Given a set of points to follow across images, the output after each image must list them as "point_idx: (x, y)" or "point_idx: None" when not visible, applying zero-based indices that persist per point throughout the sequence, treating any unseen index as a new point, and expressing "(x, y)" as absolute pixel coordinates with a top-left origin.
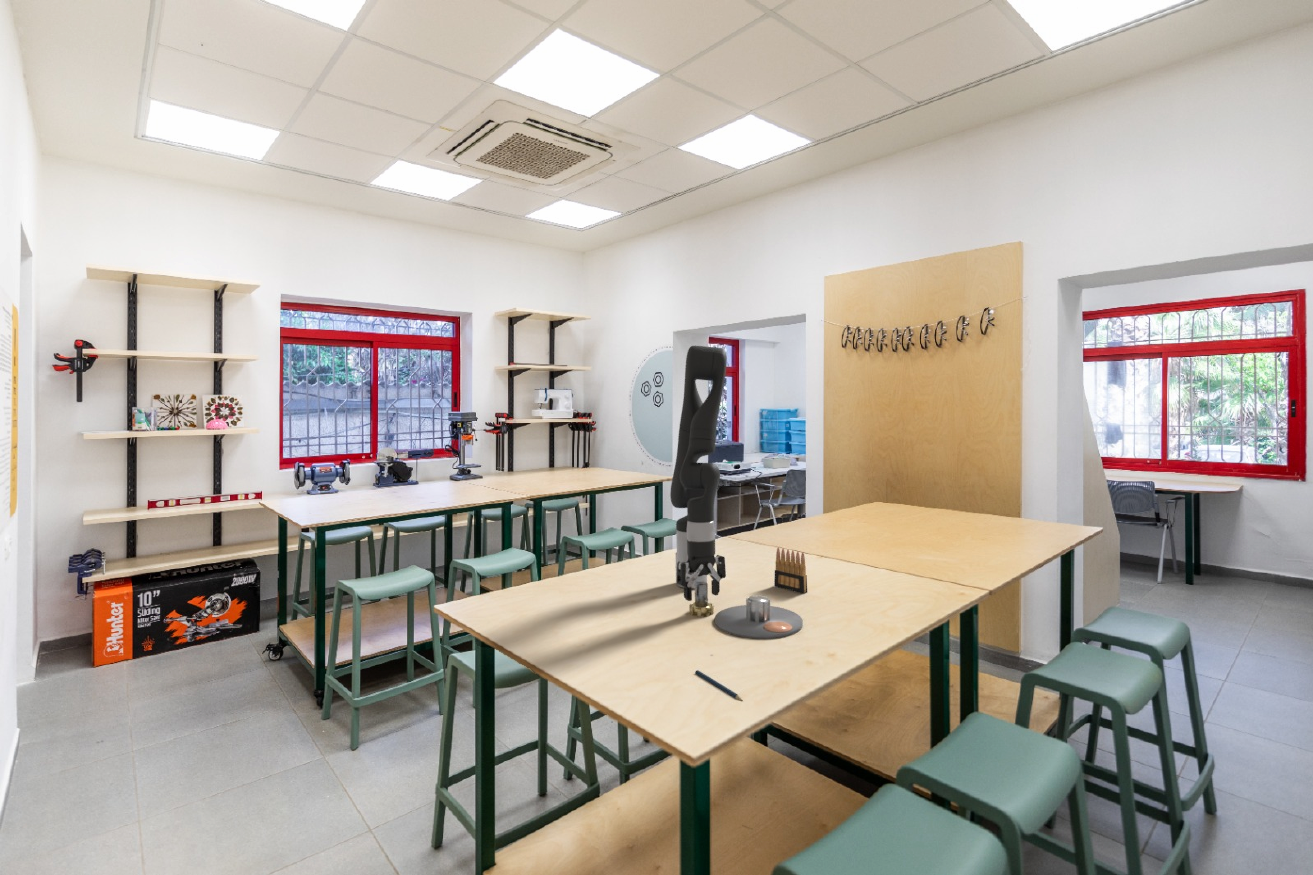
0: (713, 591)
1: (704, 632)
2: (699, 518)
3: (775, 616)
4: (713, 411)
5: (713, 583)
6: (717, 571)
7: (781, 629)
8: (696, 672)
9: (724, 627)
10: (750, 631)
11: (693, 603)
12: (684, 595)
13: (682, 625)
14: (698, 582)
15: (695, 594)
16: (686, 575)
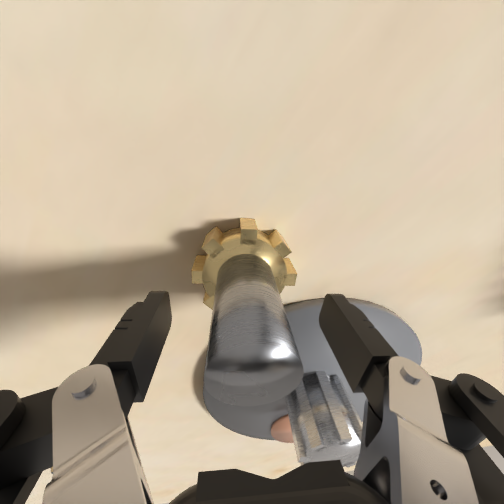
0: (330, 315)
1: (156, 372)
2: None
3: (352, 393)
4: None
5: (354, 358)
6: (493, 437)
7: (291, 437)
8: (52, 470)
9: (203, 396)
10: (238, 422)
11: (241, 227)
12: (126, 320)
13: (118, 316)
14: (255, 357)
15: (212, 314)
16: (54, 498)
